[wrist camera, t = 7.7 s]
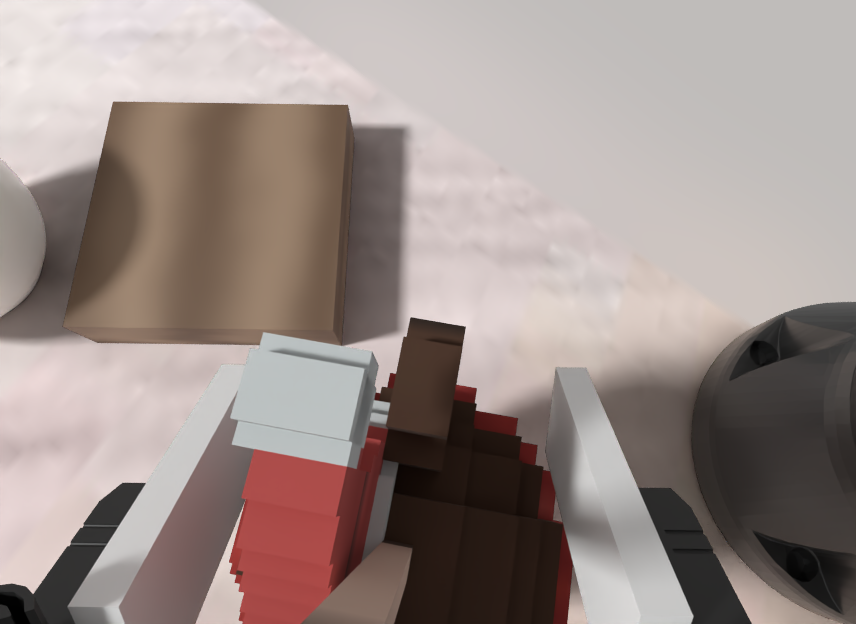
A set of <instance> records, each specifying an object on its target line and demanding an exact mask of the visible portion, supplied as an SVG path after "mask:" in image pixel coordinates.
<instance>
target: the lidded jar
mask: <svg viewBox="0 0 856 624" xmlns="http://www.w3.org/2000/svg"><path fill="white" fill-rule="evenodd" d="M45 251H46V233H45V226H44V222H43V218H42V215H41V212H40V210H39V208H38V205H37V203H36V201H35V199H34V197H33V195H32V194H31V193H30V191H29V190H28V189H27V187H26V186H25V184H24V183H23V182H22V181H21V179H20V178H19V177H18V175H17V174H16V173H15V172H14V171H13V170H12V169H11V168H10V167H9V166H8V165H7V163H6V162H4V161H3V160H2V159H1V158H0V317H1V316H3V315H4V314H6V313H8V312H9V311H11V310H12V309H14V308H15V307H17V306H18V305H19V304H20V303H21V302H23V301H24V300H25V299H26V298H27V296H28V295H29V294H30V293H31V292H32V290H33V288H34V287H35V285H36V284H37V281H38V279H39V277H40V274H41V270H42V265H43V261H44V258H45Z"/></svg>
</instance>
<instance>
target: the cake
mask: <svg viewBox="0 0 856 624" xmlns="http://www.w3.org/2000/svg"><path fill="white" fill-rule="evenodd" d="M465 328H466V327H464V326H458V325H452V324H446V323H441V322H435V321H429V320H423V319H417V318H410V323H409V328H408V333H407V337H404V338H403V343H402V348H401V353H400V358H399V363H398V367H397V372H396V374H393V373H390V377H389V382H388V387H382V389H381V393H376V387H375V386H374V385H375V380H376V376H377V371H378V366H379V365H378V363H377V361H376V359H375V357H374V354H373V352H372V351H367V350H361V349H356V348H350V347H344V346H339V345H333V344H327V343H322V342H316V341H310V340H305V339H299V338H293V337H288V336H282V335H276V334H271V333H265V332H263V335H262V339H261V342H260V346H259V349H252V348H250V350H249V354H248V357H247V361H246V364H245V368H244V371H243V375H242V378H241V382H240V385H239V389H238V392H237V396H236V399H235V403H234V406H233V410H232V413H231V416H230V418H231V419H234V420H237V421H238V424H237V427H236V431H235V434H234V438H233V441H232V445H236V446H241V447H245V448H250V449H254V452H253V456H252V460H251V463H250V467H249V471H248V474H247V478H246V482H245V486H244V489H243V493H242V497H241V498H243V499H246V501H245V504H244V508H243V512H242V516H241V519H240V523H239V527H238V530H237V534H236V538H235V542H234V545H233V549H232V553H231V557H230V560H229V562H230V563H232V567H231V571H230V574H234V575H236V579H235V583H239V584H240V587H239V592H244V596H243V600H242V604H241V608H240V612H241V613H240V617H239V621H243V623H242V624H567V620H568V609H569V599H570V588H571V578H572V567H573V561H572V557H571V553H570V549H569V545H568V541H567V537H566V533H565V529H564V525H563V522H559V521H555V520H553V513H554V504H555V495H556V493H555V489H554V485H553V481H552V477H551V473H550V471H546V470H543V467H542V466H537V465H535V462H536V454H537V446H538V445H534V444H528V443H523V442H521V439H522V437H519V436H516V429H517V421H518V418H513V417H508V416H502V415H497V414H491V413H486V412H480V411H476V405H477V404H475V397H476V391H477V388H472V387H466V386H460V385H456V383H457V377H458V371H459V365H460V359H461V353H462V346H463V340H464V334H465Z"/></svg>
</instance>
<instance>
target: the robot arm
mask: <svg viewBox="0 0 856 624" xmlns="http://www.w3.org/2000/svg"><path fill="white" fill-rule="evenodd" d="M244 368H245V365H237V364H222V365H221V367H220V368H219V370H218V372H217V373H216V375H215V376H214V378H213V379H212V381H211V382H210V384H209V386H208V387H207V389H206V390H205V392H204V393H203V395H202V397H201V398H200V400H199V401H198V403H197V404H196V406H195V408H194V409H193V411H192V412H191V414H190V415H189V417H188V419H187V420H186V422H185V423H184V425H183V426H182V428H181V429H180V431H179V433H178V434H177V436H176V437H175V439H174V440H173V442H172V444H171V445H170V447H169V448H168V450H167V451H166V453H165V455H164V456H163V458H162V459H161V461H160V462H159V464H158V466H157V467H156V469H155V470H154V472H153V473H152V475H151V476H150V478H149V480H148V481H147V483H122V484H121V485H119V486H118V487H117V488H116V489H114V490H113V491H112V492H111V493H109V494H108V495H107V496H106V497H104V498H103V499H102V500H101V501H99V503H98V504H97V506H96V507H95V508H94V510H93V511H92V513H91V514H90V515H89V517H88V518H87V520H86V521H85V522H84V526H83V528H80V529H79V531H78V532H77V534H76V535H75V536H74V538H73V539H72V541H71V545H70V546H67V548H66V549H65V550H64V552H63V553H62V555H61V556H60V557H59V559H58V560H57V562H56V563H55V564H54V566H53V567H52V569H51V570H50V572H49V573H48V574H47V576H46V577H45V579H44V580H43V581H42V583H41V584H40V586H39V587H38V588H37V590H36V591H35V593H34V594H32V593H31V592H30V591H29V589H28V588H27V587H25V586H20V585H16V584H6V585H0V624H195V623H196V620H197V618H198V615H199V613H200V610H201V608H202V605H203V603H204V601H205V598H206V596H207V593H208V591H209V588H210V586H211V583H212V581H213V578H214V576H215V573H216V571H217V569H218V566H219V564H220V561H221V559H222V556H223V554H224V551H225V549H226V546H227V544H228V541H229V539H230V537H231V534H232V532H233V529H234V527H235V524H236V522H237V519H238V517H239V514H240V512H241V510H242V507H243V505H244V502H245V500H246V499H243V498H241V497H242V493H243V489H244V486H245V482H246V478H247V474H248V471H249V467H250V463H251V460H252V456H253V452H254V449H250V448H245V447H241V446H236V445H232V441H233V438H234V434H235V431H236V427H237V424H238V421H237V420H234V419H231V418H230V416H231V413H232V410H233V406H234V403H235V399H236V396H237V392H238V389H239V385H240V382H241V378H242V375H243V371H244ZM692 450H693V458H694V464H695V469H696V474H697V478H698V481H699V485H700V488H701V491H702V494H703V496H704V499H705V501H706V504H707V506H708V508H709V510H710V512H711V515H712V516H713V518H714V520H715V522H716V524H717V526H718V527H719V529H720V530H721V532H722V534H723V535H724V537H725V538H726V540H727V541H728V542H729V544H730V545H731V547H732V548H733V549H734V550H735V552H736V553H737V554H738V555H739V557H740V558H741V559H742V560H743V561H744V562H745V563H746V564H747V565H748V567H749V568H750V569H751V570H752V571H753V572H755V573H756V574H757V575H758V576H759V577H760V578H761V579H762V580H763V581H764V582H766V583H767V584H768V585H769V586H770V587H772V588H773V589H775V590H776V591H777V592H779V593H780V594H781V595H783V596H784V597H786V598H788V599H789V600H791V601H792V602H794V603H796V604H798V605H799V606H801V607H803V608H805V609H807V610H809V611H811V612H814V613H816V614H818V615H821V616H823V617H826V618H829V619H831V620H835V621H838V622H841V623H844V624H856V302H838V303H823V304H816V305H810V306H806V307H802V308H798V309H794V310H791V311H789V312H786V313H783V314H781V315H778V316H776V317H774V318H772V319H770V320H768V321H766V322H764V323H762V324H760V325H758V326H756V327H754V328H752V329H750V330H748V331H747V332H745V333H743V334H742V335H740V336H739V337H738V338H736V339H735V340H734V341H733V342H731V343H730V344H729V345H728V346H727V347H726V348H725V349H724V350H723V351H722V352H721V353H720V355H719V356H718V357H717V358H716V360H715V361H714V362H713V364H712V365H711V367H710V369H709V370H708V372H707V374H706V376H705V378H704V380H703V382H702V384H701V387H700V390H699V392H698V396H697V399H696V403H695V408H694V413H693V421H692ZM545 453H546V457H547V461H548V465H549V469H550V473H551V477H552V481H553V485H554V489H555V493H556V497H557V501H558V505H559V509H560V513H561V517H562V521H563V525H564V529H565V533H566V537H567V541H568V545H569V549H570V553H571V557H572V561H573V565H574V569H575V573H576V577H577V581H578V585H579V589H580V593H581V597H582V601H583V605H584V609H585V613H586V617H587V621H588V624H752V623H751V622H750V620H749V618H748V616H747V614H746V612H745V610H744V608H743V606H742V604H741V602H740V601H739V599H738V597H737V595H736V593H735V591H734V589H733V587H732V585H731V583H730V581H729V580H728V578H727V576H726V574H725V572H724V570H723V568H722V566H721V564H720V562H719V560H718V558H717V557H716V555H715V554H713V551H712V550H713V549H712V547H711V545H710V543H709V541H708V539H707V537H706V536H705V535H703V530H702V528H701V526H700V524H699V522H698V520H697V518H696V516H695V515H694V513H693V511H692V509H691V507H690V506H689V505H688V504H687V503H685V502H684V501H683V500H682V499H681V498H680V497H679V496H678V495H677V494H676V493H675V492H674V491H673V490H672V489H671V488H638V487H637V484H636V482H635V480H634V477H633V475H632V473H631V470H630V468H629V466H628V463H627V461H626V459H625V457H624V454H623V452H622V450H621V447H620V445H619V443H618V440H617V438H616V436H615V433H614V431H613V429H612V426H611V424H610V422H609V419H608V417H607V415H606V412H605V410H604V408H603V406H602V403H601V401H600V399H599V396H598V394H597V392H596V389H595V387H594V385H593V382H592V380H591V378H590V375H589V373H588V371H587V368H560V367H556V370H555V378H554V386H553V394H552V402H551V410H550V418H549V426H548V433H547V441H546V449H545Z"/></svg>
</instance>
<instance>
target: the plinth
mask: <svg viewBox="0 0 856 624" xmlns="http://www.w3.org/2000/svg"><path fill="white" fill-rule="evenodd" d="M353 151H354V134H353V129H352V124H351V118H350V113H349V108H348V105H309V104H239V103H169V102H113V104H112V109H111V113H110V118H109V122H108V127H107V131H106V135H105V140H104V144H103V149H102V153H101V158H100V162H99V167H98V171H97V176H96V180H95V184H94V189H93V193H92V198H91V202H90V207H89V211H88V216H87V220H86V225H85V229H84V233H83V238H82V242H81V247H80V251H79V256H78V260H77V265H76V269H75V274H74V278H73V282H72V287H71V291H70V296H69V300H68V305H67V309H66V314H65V318H64V323H63V327H64V328H66V329H68V330H71V331H73V332H75V333H77V334H79V335H81V336H84V337H86V338H88V339H90V340H92V341H95V342H97V343H152V344H230V345H260V342H261V339H262V335H263V332H265V333H271V334H276V335H282V336H288V337H293V338H299V339H305V340H310V341H316V342H322V343H327V344H333V345H339V346H342V331H343V314H344V298H345V282H346V265H347V249H348V233H349V217H350V200H351V184H352V168H353Z"/></svg>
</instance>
